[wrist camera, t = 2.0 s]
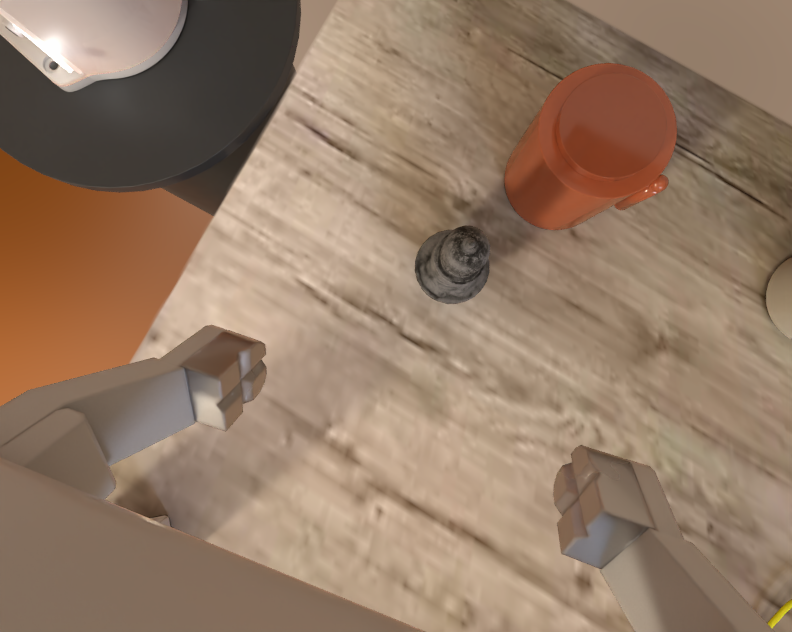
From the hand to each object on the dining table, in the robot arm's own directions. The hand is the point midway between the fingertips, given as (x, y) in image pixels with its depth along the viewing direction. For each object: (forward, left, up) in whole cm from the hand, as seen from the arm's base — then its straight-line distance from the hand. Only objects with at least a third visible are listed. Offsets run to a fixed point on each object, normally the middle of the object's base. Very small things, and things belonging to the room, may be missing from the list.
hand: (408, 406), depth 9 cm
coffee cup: (+4, +19, -22) cm, 30 cm away
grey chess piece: (0, +7, -22) cm, 24 cm away
